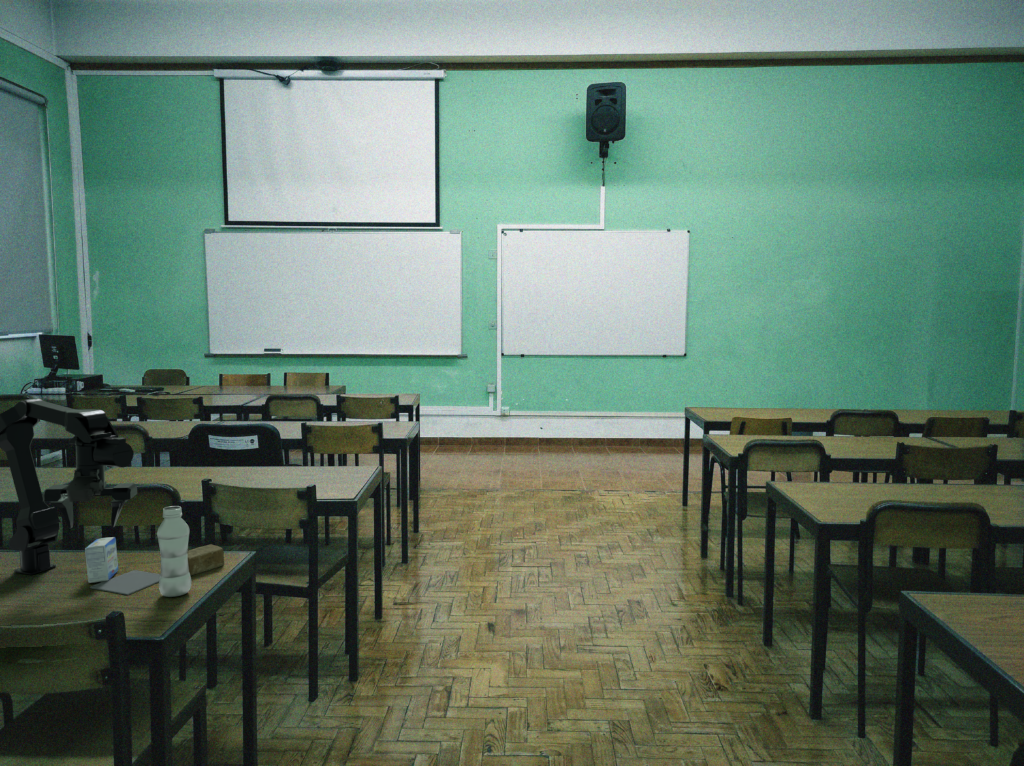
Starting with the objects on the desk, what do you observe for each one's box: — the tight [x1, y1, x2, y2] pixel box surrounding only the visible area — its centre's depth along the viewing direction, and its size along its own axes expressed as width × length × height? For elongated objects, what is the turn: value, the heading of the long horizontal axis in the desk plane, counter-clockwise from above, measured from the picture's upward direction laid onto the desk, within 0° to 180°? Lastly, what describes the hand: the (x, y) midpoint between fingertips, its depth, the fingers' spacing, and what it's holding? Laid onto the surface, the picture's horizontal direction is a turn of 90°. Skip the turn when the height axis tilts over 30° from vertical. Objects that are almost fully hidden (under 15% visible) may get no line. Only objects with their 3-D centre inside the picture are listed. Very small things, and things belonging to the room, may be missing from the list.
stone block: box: [187, 543, 225, 576], centre depth 175 cm, size 6×12×5 cm, turn 148°
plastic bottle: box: [156, 505, 192, 598], centre depth 157 cm, size 6×7×20 cm
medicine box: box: [84, 536, 119, 584], centre depth 168 cm, size 8×4×9 cm, turn 14°
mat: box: [89, 569, 161, 596], centre depth 166 cm, size 12×12×1 cm
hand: (92, 527), depth 168 cm, fingers open, 9 cm apart
